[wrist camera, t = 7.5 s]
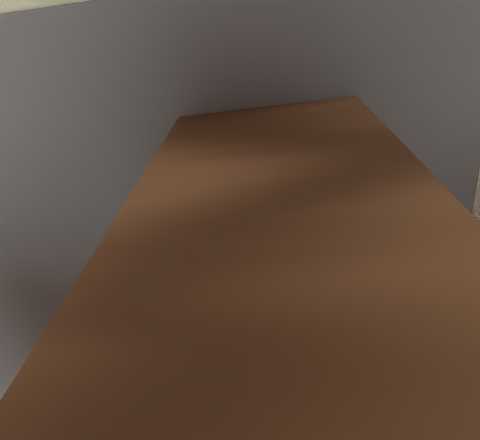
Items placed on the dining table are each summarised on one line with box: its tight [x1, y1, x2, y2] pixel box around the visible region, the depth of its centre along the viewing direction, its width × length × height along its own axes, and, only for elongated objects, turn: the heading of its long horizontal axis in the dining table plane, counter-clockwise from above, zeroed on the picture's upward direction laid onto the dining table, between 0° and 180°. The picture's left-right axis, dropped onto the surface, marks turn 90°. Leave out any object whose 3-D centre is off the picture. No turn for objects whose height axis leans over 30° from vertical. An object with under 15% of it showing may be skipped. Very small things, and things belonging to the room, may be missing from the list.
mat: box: [0, 0, 480, 400], centre depth 12 cm, size 16×14×1 cm
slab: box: [0, 96, 480, 440], centre depth 8 cm, size 4×9×8 cm, turn 7°
